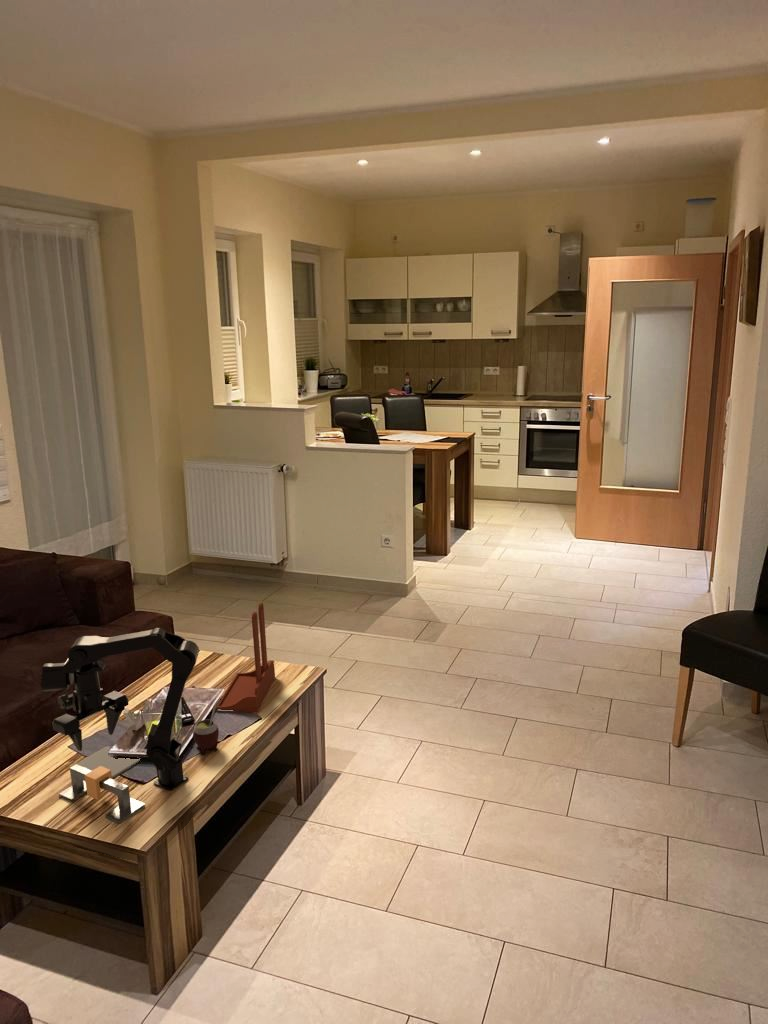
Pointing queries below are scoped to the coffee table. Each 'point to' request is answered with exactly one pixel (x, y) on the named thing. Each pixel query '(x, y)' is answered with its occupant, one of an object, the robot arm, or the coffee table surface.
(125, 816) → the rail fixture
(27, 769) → the coffee table surface
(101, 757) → the slate mat
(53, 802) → the coffee table surface
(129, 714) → the grey flat heart piece
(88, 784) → the orange link
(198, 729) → the mate gourd
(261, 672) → the hanging shelf
